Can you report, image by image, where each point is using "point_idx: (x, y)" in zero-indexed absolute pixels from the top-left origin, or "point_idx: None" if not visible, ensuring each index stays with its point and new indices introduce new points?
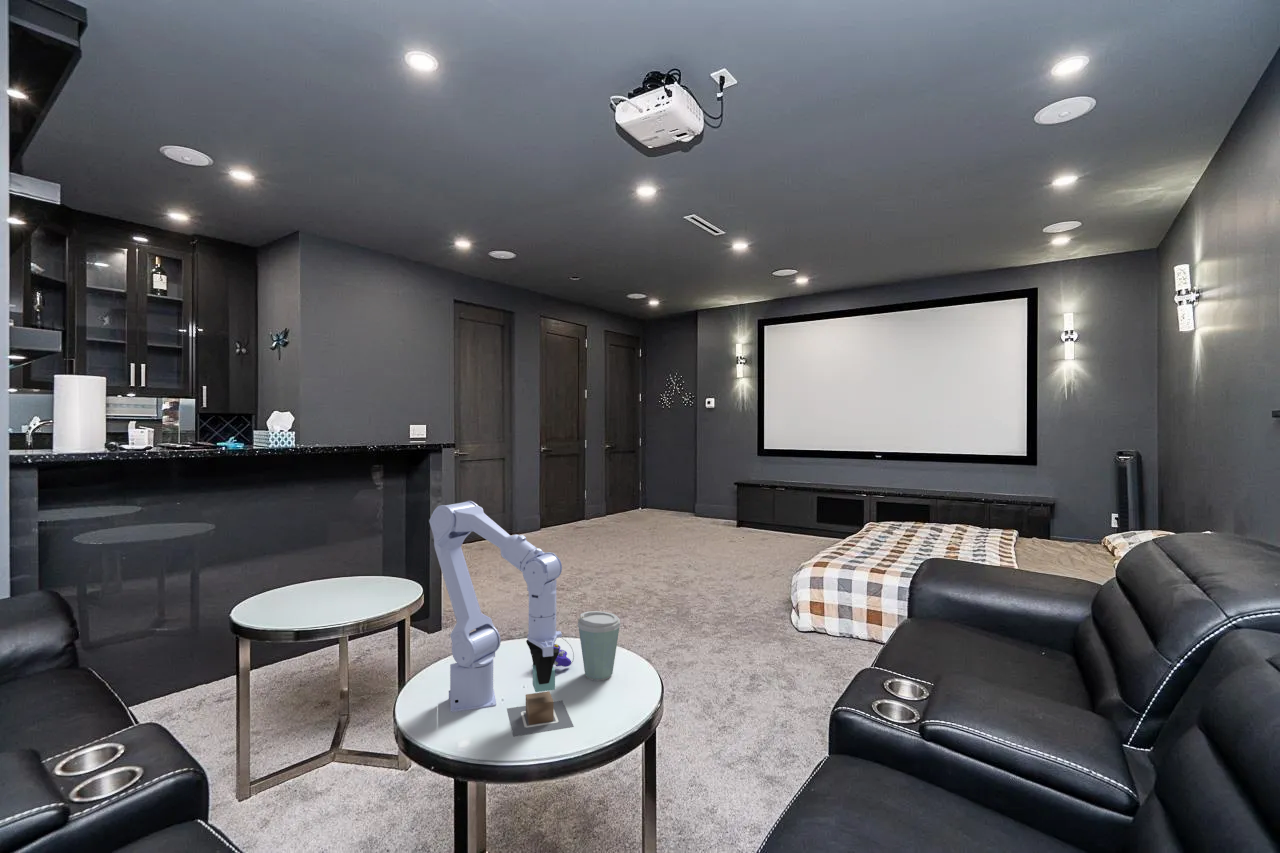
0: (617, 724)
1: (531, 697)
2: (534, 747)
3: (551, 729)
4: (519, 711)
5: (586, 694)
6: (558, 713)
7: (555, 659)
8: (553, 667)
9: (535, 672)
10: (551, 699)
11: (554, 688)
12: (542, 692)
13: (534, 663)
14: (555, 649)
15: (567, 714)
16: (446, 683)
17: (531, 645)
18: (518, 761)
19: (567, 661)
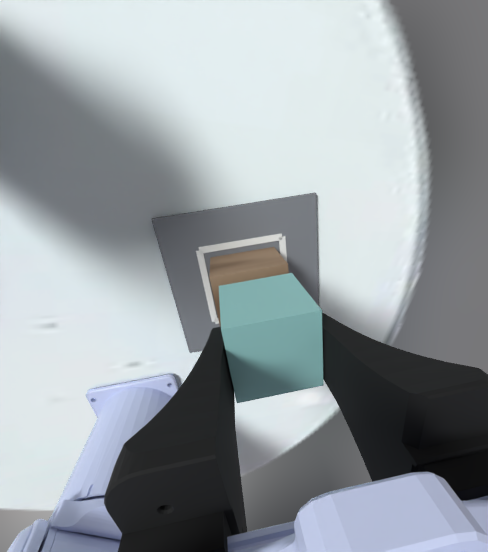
0: (332, 38)
1: None
2: (367, 285)
3: (314, 251)
4: (209, 326)
5: (96, 128)
6: (234, 232)
7: (428, 358)
8: (285, 318)
9: (319, 385)
10: (272, 270)
11: (293, 276)
12: (216, 298)
13: (232, 401)
14: (447, 411)
15: (244, 207)
16: (49, 471)
17: (245, 527)
18: (402, 310)
19: None
